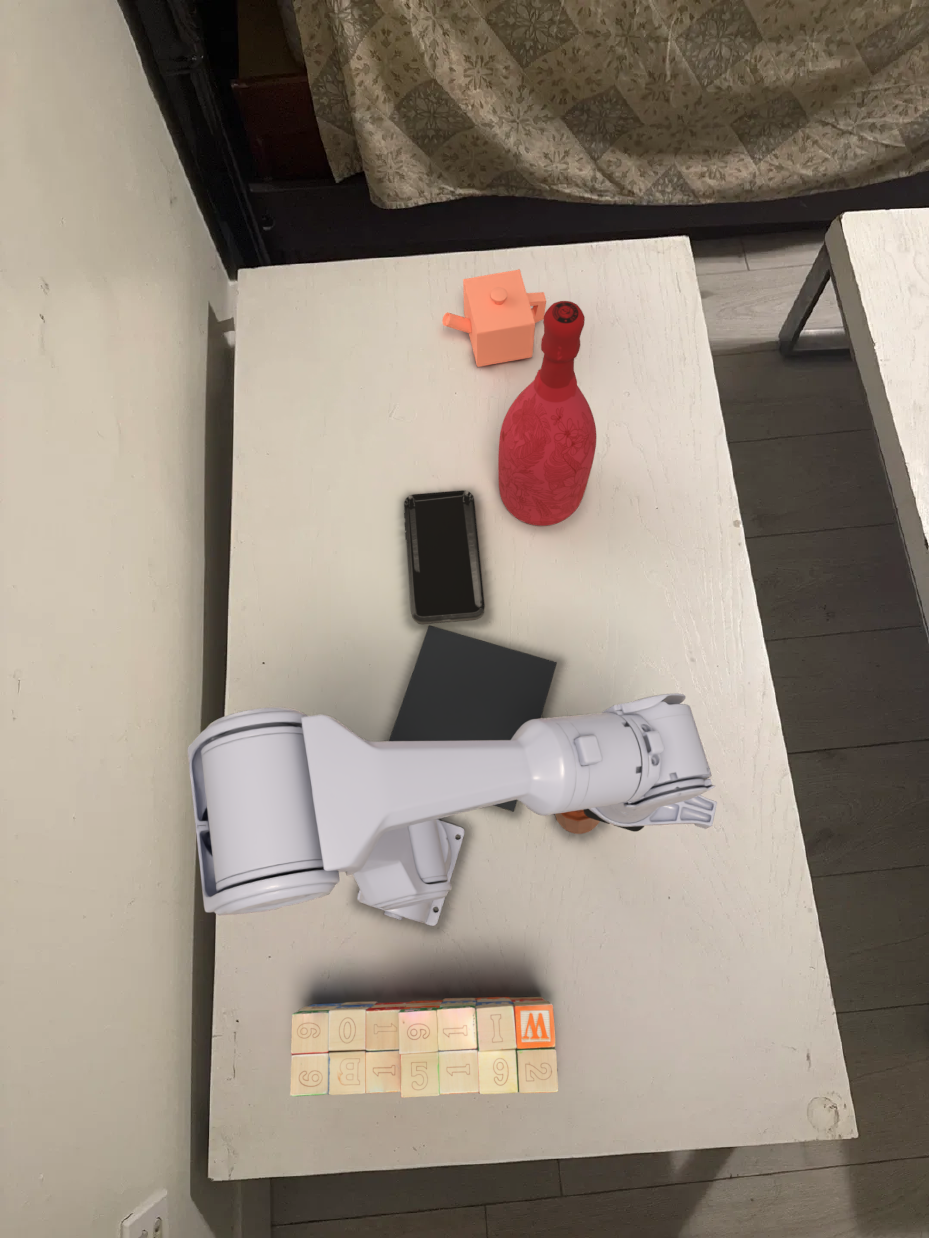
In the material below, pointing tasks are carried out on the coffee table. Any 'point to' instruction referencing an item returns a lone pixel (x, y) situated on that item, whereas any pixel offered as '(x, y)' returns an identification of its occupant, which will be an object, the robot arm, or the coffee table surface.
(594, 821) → the brown jar
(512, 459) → the wine bottle
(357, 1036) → the stack of blocks
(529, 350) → the pink cube teapot
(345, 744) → the robot arm
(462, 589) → the phone
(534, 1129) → the coffee table surface
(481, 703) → the mat
